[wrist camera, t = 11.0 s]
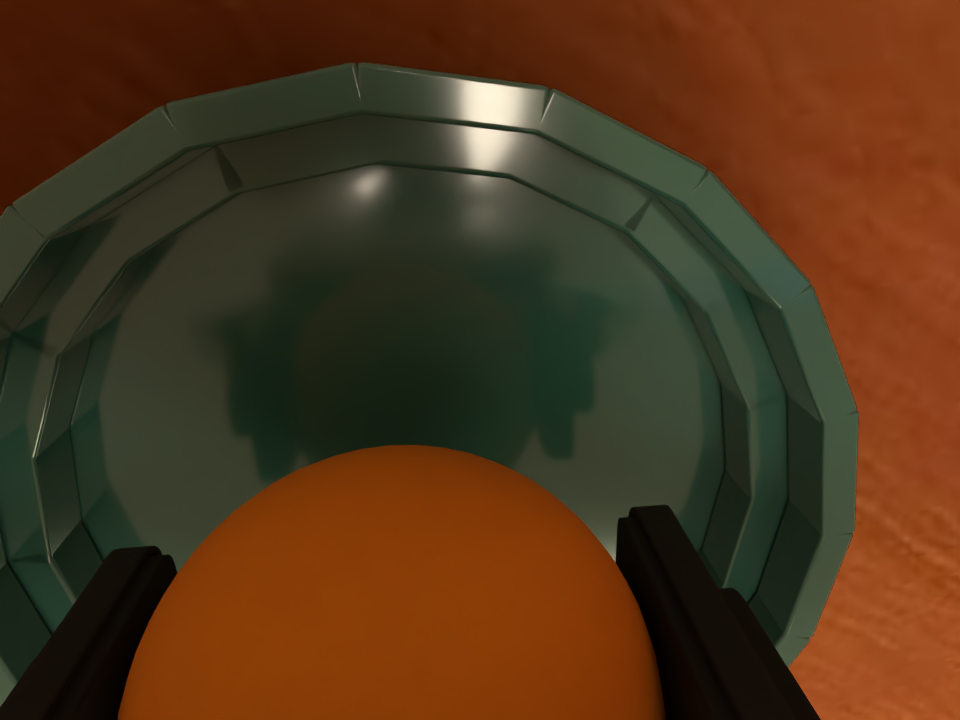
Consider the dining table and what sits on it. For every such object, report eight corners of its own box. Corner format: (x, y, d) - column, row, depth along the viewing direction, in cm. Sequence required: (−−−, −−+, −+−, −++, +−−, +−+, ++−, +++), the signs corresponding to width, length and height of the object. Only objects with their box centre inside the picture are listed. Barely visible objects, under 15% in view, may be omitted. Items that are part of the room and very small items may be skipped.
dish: (-133, 520, 13) (-278, 628, 10) (351, -165, 9) (321, -268, 7) (444, 818, 17) (447, 945, 15) (912, 440, 14) (1024, 518, 11)
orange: (141, 560, 11) (-202, 1117, 5) (384, 284, 10) (309, 610, 4) (428, 723, 13) (428, 1260, 7) (667, 517, 12) (928, 979, 6)
